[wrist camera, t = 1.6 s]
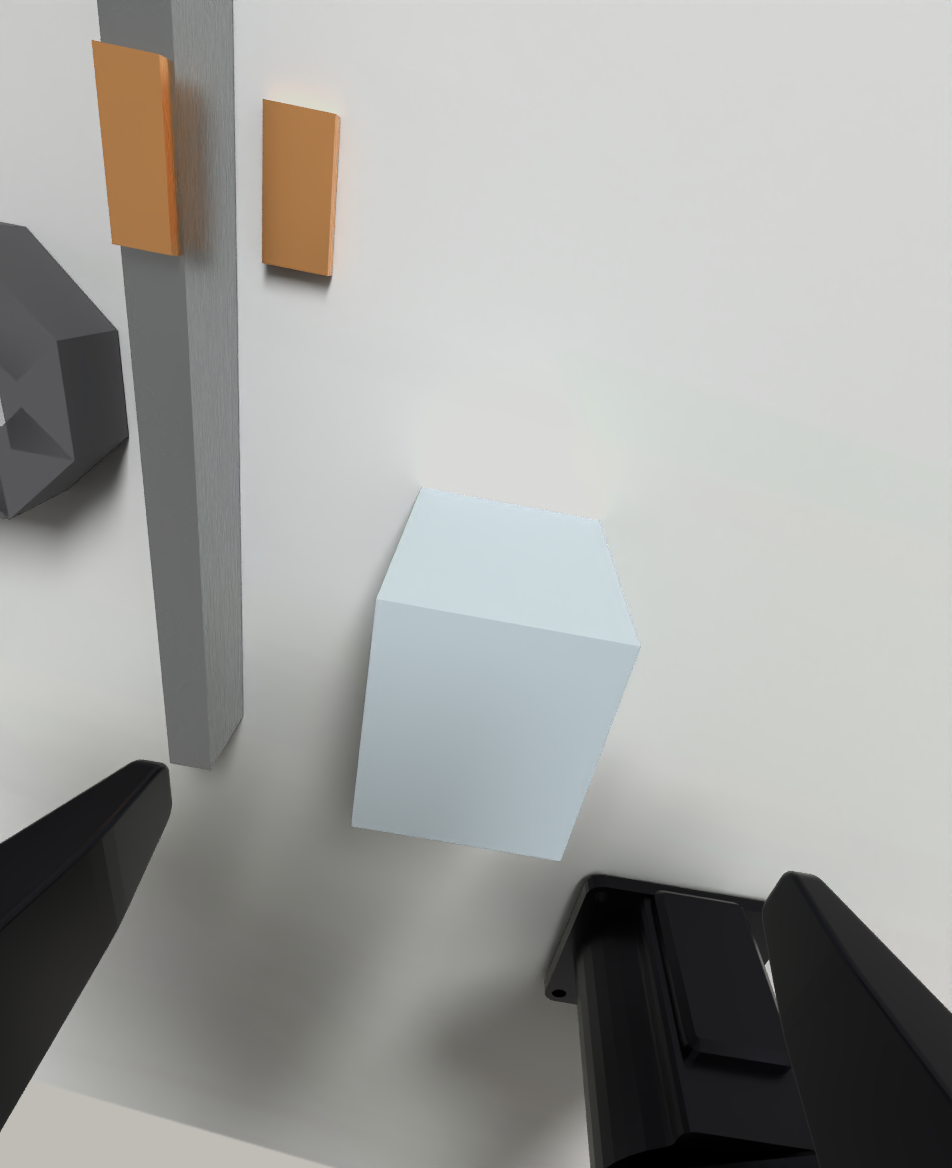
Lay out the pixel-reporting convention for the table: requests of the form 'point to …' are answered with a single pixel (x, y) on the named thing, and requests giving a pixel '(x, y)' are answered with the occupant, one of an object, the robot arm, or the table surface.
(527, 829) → the pale blue cuboid
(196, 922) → the table surface
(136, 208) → the channel
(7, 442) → the ring
